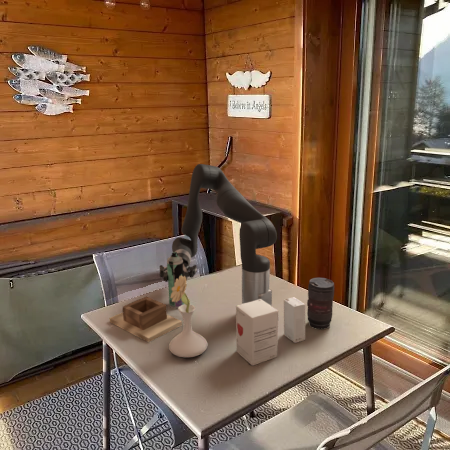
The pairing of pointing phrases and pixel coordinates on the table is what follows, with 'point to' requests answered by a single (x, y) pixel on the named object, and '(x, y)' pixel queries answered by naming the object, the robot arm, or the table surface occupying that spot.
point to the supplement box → (256, 331)
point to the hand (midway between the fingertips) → (174, 279)
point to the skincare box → (294, 319)
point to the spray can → (174, 276)
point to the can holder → (146, 319)
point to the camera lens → (320, 302)
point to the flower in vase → (185, 325)
